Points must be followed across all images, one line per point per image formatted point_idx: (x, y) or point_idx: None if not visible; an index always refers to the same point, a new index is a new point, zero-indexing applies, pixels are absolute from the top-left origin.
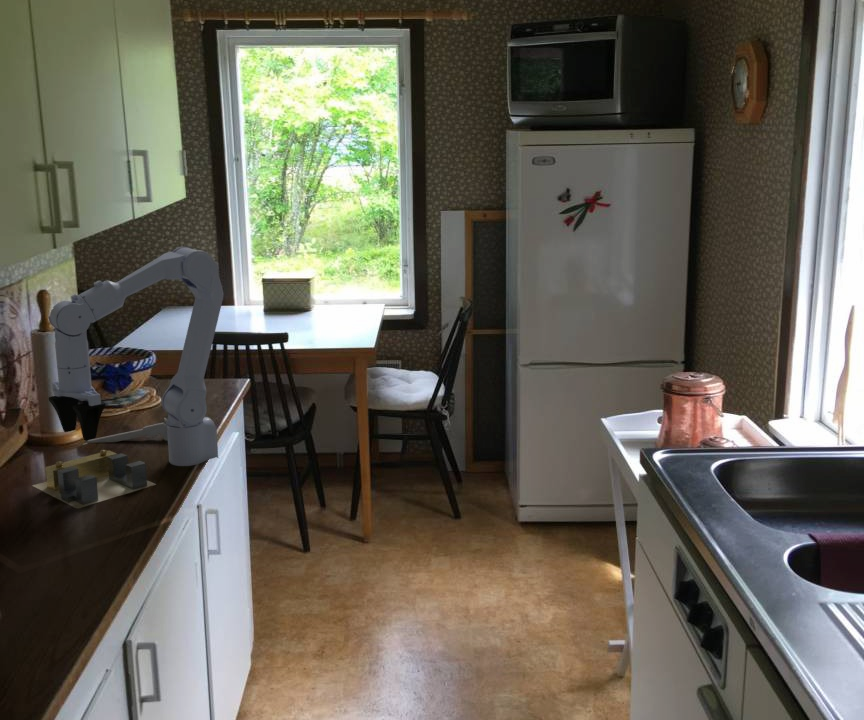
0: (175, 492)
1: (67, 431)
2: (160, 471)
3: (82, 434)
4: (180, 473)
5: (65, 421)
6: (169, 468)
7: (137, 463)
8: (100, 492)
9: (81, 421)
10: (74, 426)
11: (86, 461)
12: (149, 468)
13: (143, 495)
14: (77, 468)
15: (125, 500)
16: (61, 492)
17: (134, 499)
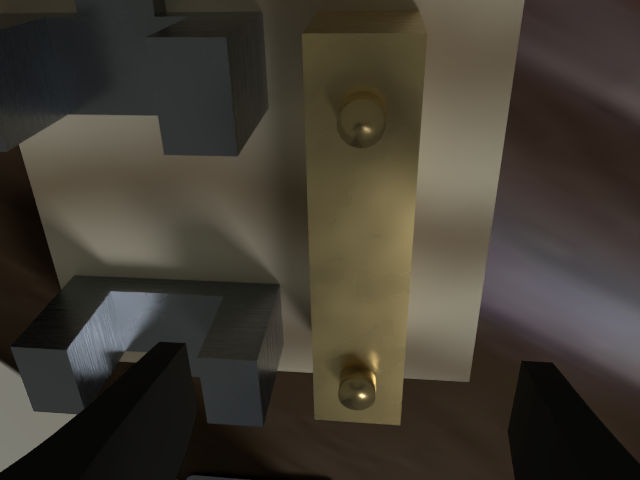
0: (7, 361)
1: (521, 378)
2: (262, 445)
3: (155, 369)
4: (189, 466)
5: (548, 453)
6: (268, 475)
7: (50, 389)
8: (131, 168)
9: (19, 472)
10: (515, 454)
11: (315, 269)
12: (326, 442)
13: (43, 279)
14: (173, 154)
15: (27, 205)
16: (233, 12)
17: (18, 235)
